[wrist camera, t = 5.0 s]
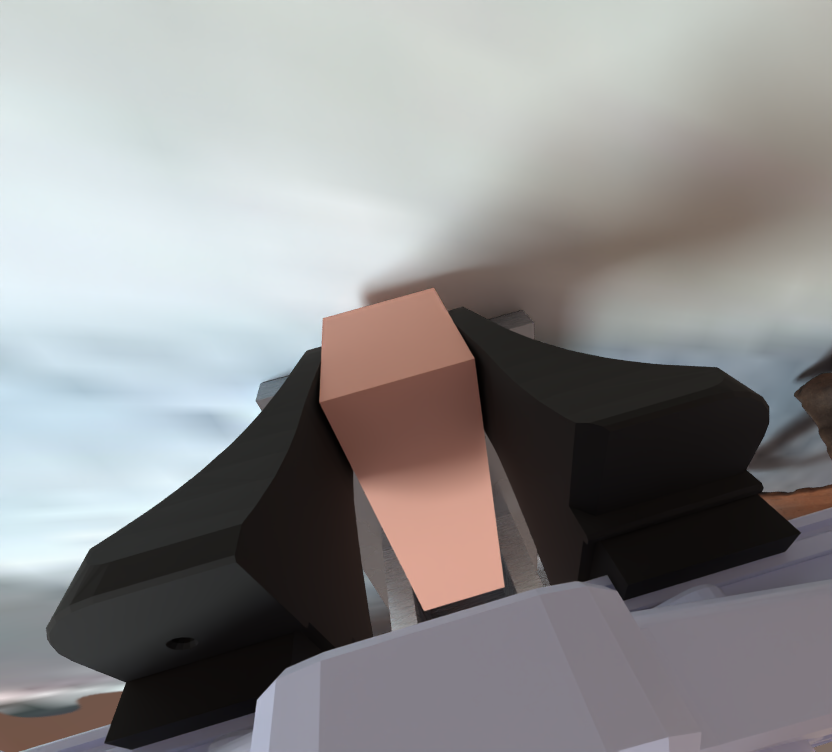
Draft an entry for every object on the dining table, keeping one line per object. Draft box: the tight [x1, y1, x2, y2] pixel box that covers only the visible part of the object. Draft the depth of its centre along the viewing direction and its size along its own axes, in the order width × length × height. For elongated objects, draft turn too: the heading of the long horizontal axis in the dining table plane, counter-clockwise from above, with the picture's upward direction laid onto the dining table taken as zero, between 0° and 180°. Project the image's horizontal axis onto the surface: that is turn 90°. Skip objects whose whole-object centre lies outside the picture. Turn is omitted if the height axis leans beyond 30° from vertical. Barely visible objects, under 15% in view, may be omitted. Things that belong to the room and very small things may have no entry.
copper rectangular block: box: [319, 288, 505, 611], centre depth 13 cm, size 12×4×4 cm, turn 12°
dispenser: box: [256, 310, 543, 631], centre depth 16 cm, size 19×10×7 cm, turn 12°
